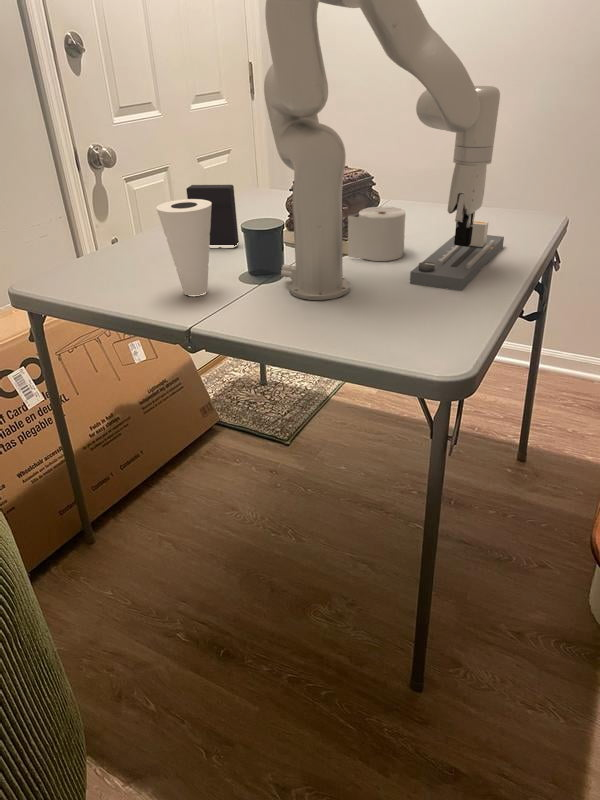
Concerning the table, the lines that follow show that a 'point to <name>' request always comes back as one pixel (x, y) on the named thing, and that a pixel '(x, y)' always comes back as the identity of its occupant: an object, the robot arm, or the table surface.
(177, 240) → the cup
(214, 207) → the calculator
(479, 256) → the console
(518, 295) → the table surface
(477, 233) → the fader
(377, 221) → the toilet tissue
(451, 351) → the table surface
